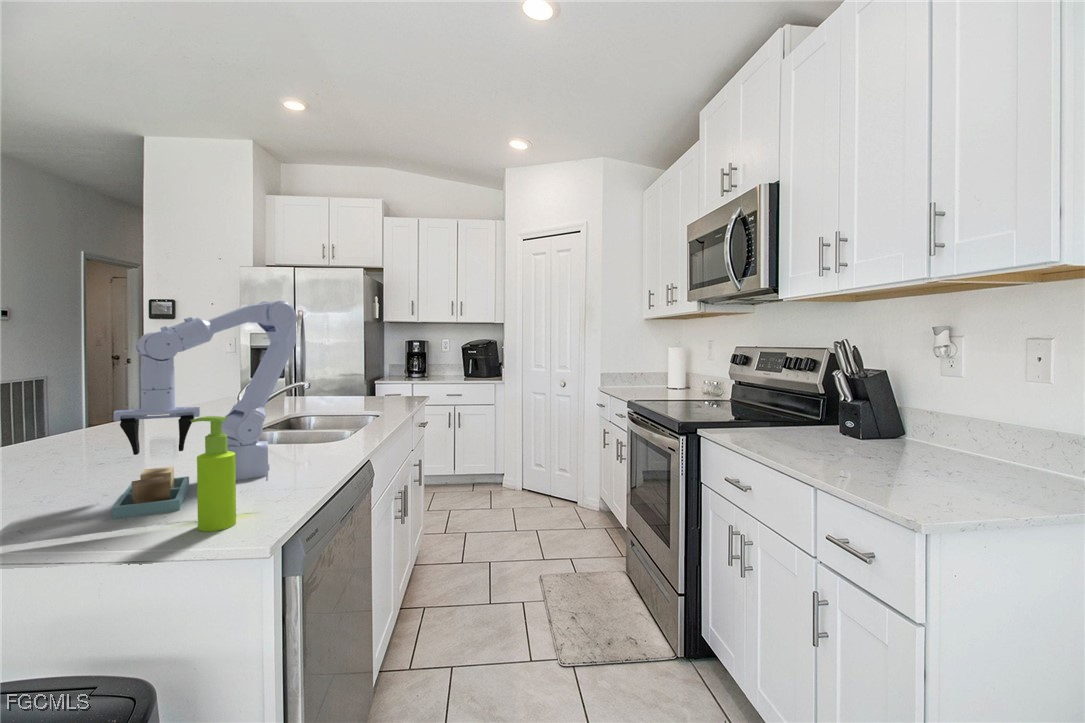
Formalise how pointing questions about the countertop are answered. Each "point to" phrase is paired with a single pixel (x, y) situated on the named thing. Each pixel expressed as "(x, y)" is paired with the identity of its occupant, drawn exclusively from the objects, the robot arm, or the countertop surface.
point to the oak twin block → (159, 474)
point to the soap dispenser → (216, 480)
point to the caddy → (174, 504)
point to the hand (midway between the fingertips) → (159, 452)
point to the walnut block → (150, 490)
